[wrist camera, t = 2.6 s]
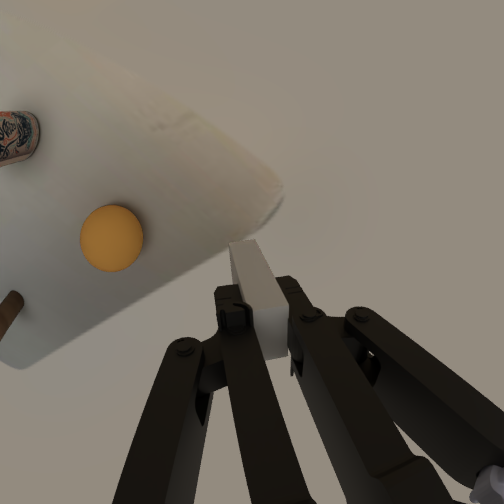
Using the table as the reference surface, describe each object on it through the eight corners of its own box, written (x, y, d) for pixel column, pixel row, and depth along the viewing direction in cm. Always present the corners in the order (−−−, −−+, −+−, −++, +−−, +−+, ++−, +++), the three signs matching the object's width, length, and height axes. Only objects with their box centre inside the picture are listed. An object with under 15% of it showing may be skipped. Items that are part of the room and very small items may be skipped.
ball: (99, 258, 25) (82, 287, 20) (86, 203, 22) (62, 223, 18) (152, 250, 26) (144, 280, 21) (141, 193, 23) (128, 210, 18)
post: (13, 308, 25) (-18, 357, 16) (6, 291, 24) (-30, 338, 15) (27, 307, 25) (-5, 358, 17) (19, 289, 24) (-17, 338, 16)
